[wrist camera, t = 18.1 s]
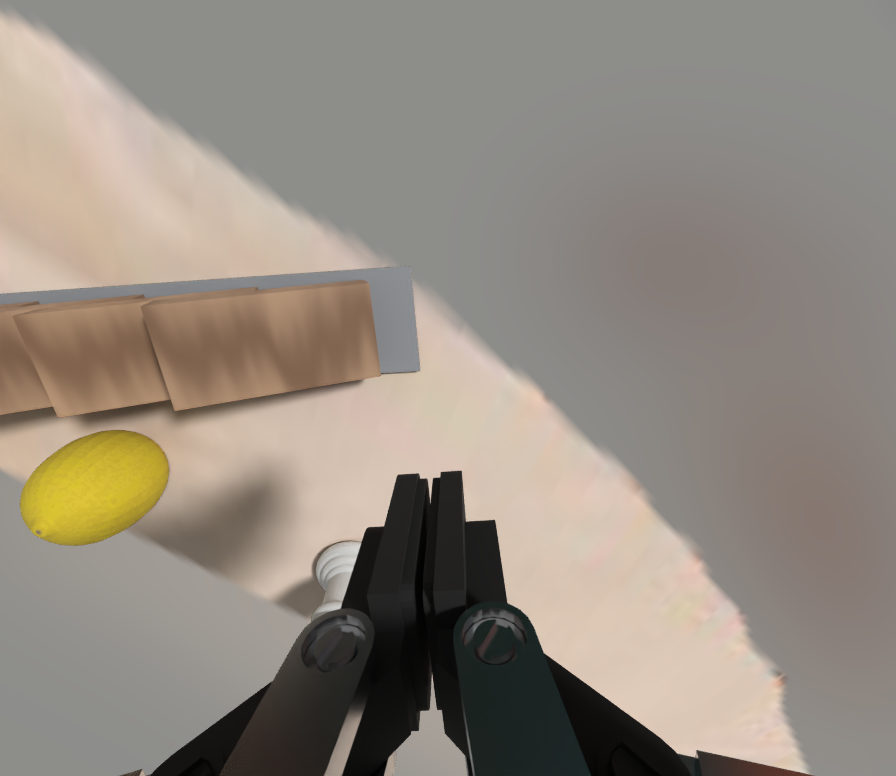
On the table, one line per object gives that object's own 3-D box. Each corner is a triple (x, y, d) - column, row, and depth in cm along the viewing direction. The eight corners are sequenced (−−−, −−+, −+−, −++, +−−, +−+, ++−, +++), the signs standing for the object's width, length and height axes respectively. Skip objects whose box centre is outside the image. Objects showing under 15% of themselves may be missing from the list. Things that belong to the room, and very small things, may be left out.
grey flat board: (420, 369, 25) (419, 371, 25) (-33, 397, 26) (-38, 398, 25) (410, 265, 23) (409, 266, 22) (-84, 299, 24) (-91, 300, 23)
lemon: (165, 497, 28) (63, 594, 21) (91, 446, 27) (-46, 530, 19) (212, 449, 27) (120, 534, 19) (136, 392, 26) (6, 460, 18)
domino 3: (380, 375, 23) (174, 411, 20) (374, 366, 24) (184, 397, 22) (368, 283, 21) (140, 306, 18) (363, 279, 23) (153, 300, 20)
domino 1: (162, 389, 23) (-71, 426, 20) (171, 378, 25) (-42, 410, 22) (131, 298, 21) (-130, 325, 18) (143, 294, 23) (-93, 317, 20)
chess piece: (307, 577, 31) (254, 707, 23) (335, 526, 29) (289, 647, 21) (372, 603, 32) (344, 738, 23) (403, 556, 30) (385, 682, 22)
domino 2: (275, 382, 23) (58, 417, 20) (277, 371, 25) (77, 403, 22) (253, 290, 21) (11, 315, 18) (257, 286, 23) (37, 308, 20)
